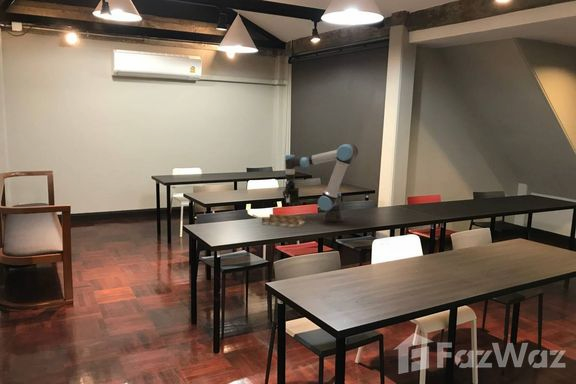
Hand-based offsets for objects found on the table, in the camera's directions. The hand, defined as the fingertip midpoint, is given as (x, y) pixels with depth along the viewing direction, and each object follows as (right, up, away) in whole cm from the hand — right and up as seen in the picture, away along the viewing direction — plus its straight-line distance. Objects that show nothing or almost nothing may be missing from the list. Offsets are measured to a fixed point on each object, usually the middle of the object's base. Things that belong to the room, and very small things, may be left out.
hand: (290, 201), depth 378 cm
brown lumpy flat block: (-5, -17, -15) cm, 23 cm away
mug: (0, -1, +1) cm, 2 cm away
